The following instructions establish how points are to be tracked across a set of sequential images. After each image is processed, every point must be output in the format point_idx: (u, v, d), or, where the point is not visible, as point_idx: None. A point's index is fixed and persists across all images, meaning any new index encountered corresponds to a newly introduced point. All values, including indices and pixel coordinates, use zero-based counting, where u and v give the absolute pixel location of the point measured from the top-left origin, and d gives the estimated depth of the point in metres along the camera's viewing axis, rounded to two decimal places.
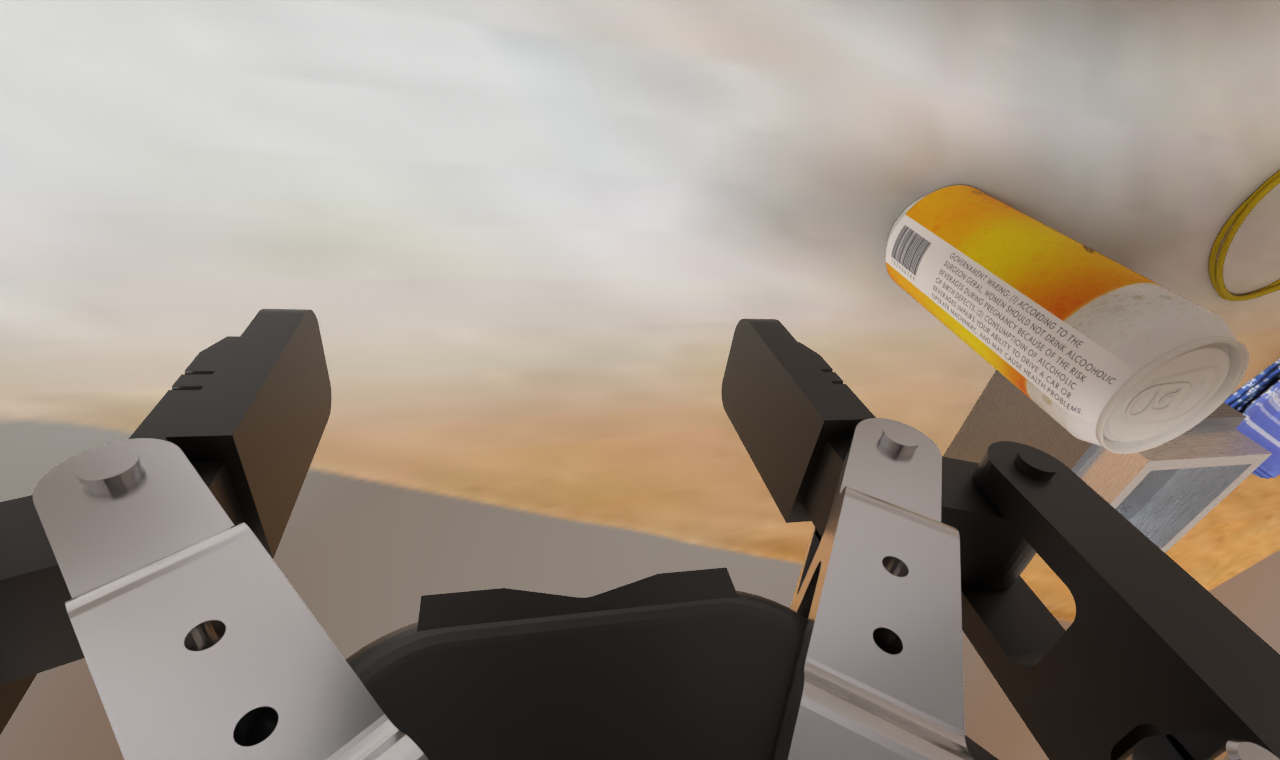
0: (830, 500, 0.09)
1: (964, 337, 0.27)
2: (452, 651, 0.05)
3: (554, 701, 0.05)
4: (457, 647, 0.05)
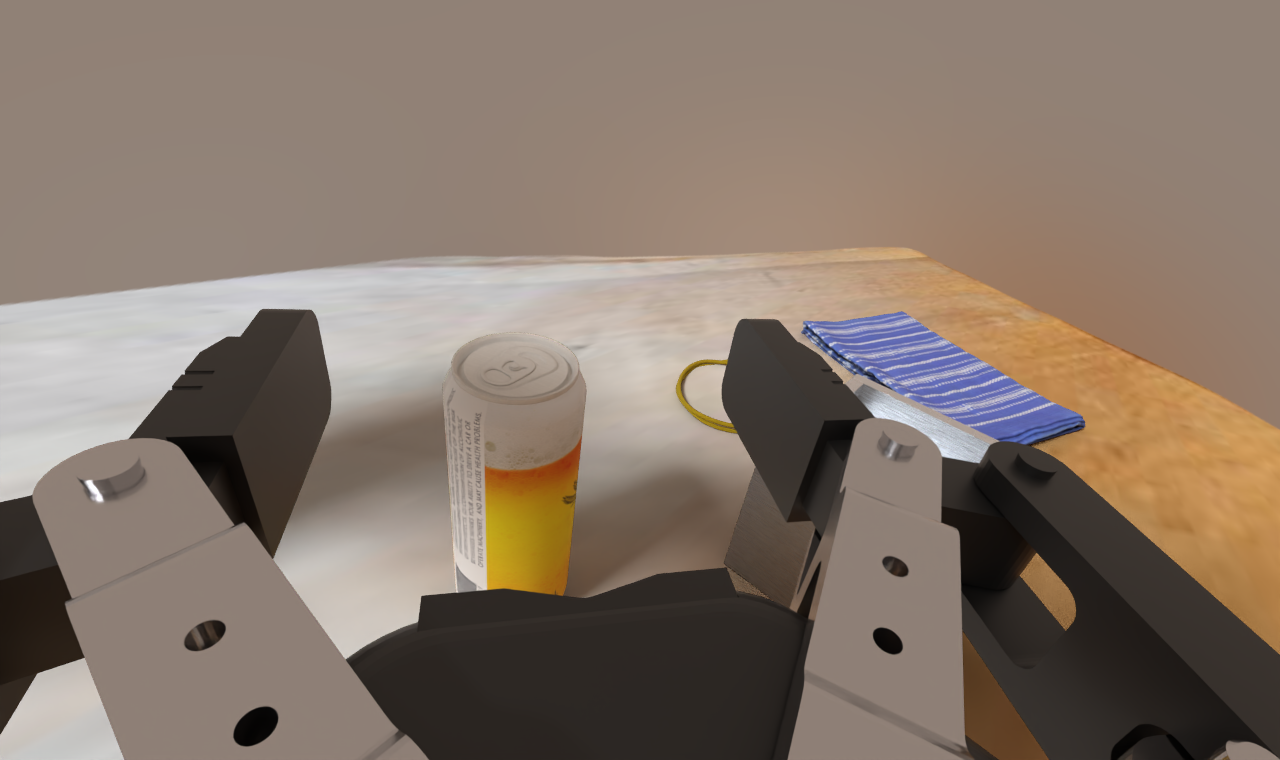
0: (829, 500, 0.09)
1: (502, 537, 0.26)
2: (452, 651, 0.05)
3: (554, 701, 0.05)
4: (457, 647, 0.05)
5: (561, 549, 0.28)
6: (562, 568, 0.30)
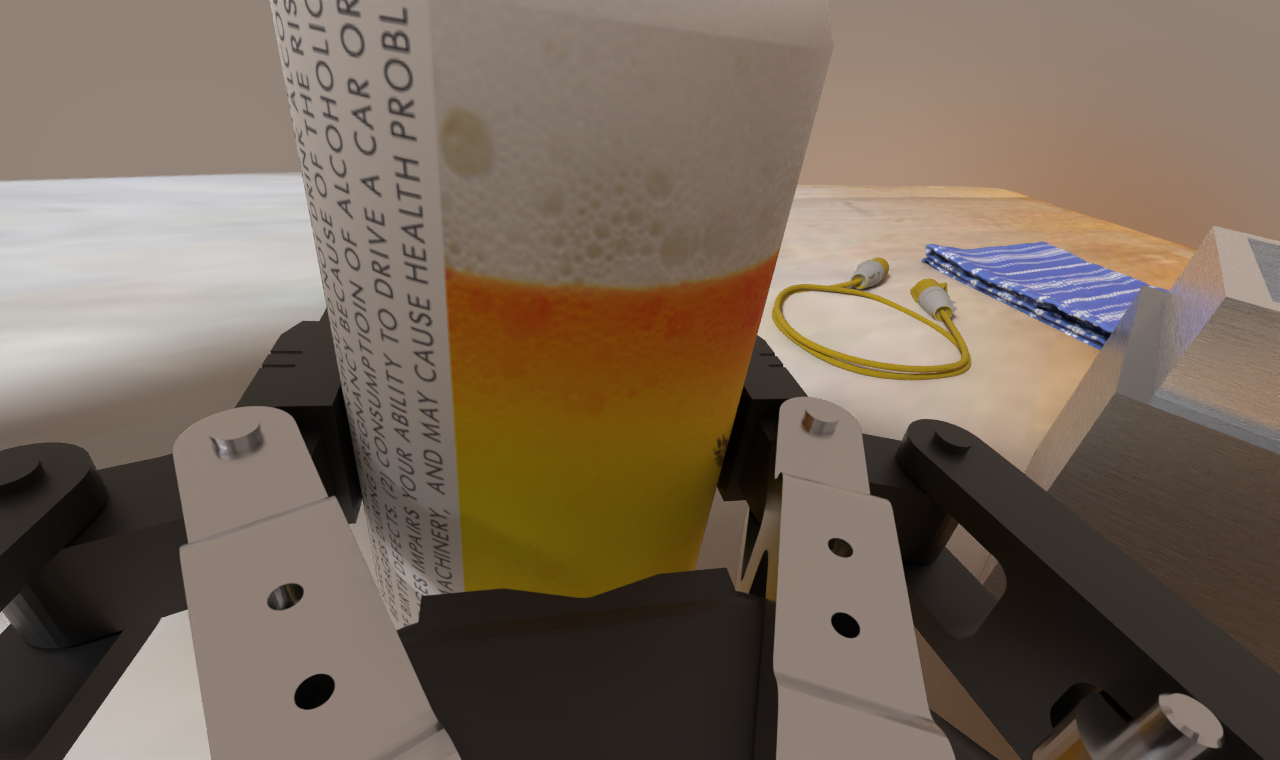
0: (758, 478, 0.09)
1: (521, 574, 0.07)
2: (452, 651, 0.05)
3: (554, 701, 0.05)
4: (457, 647, 0.05)
5: None
6: None
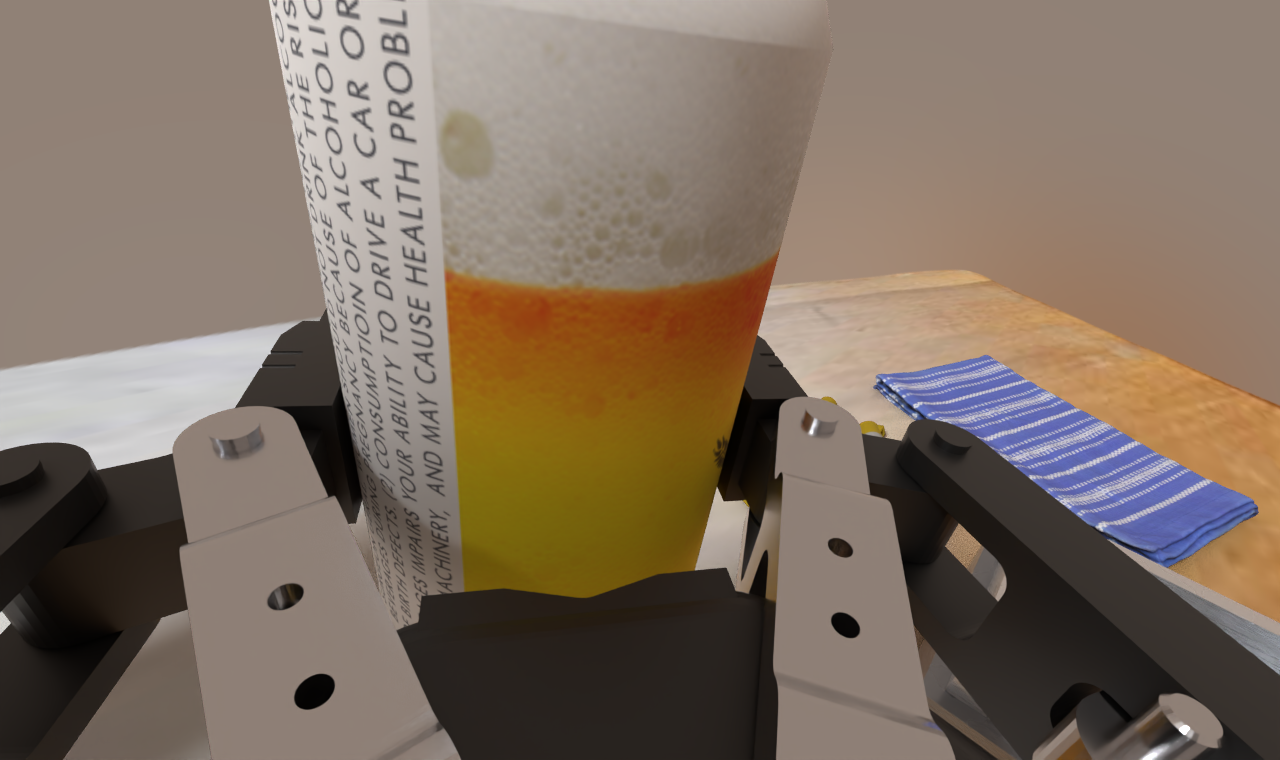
0: (758, 477, 0.09)
1: (521, 575, 0.07)
2: (452, 651, 0.05)
3: (554, 701, 0.05)
4: (457, 647, 0.05)
5: None
6: None
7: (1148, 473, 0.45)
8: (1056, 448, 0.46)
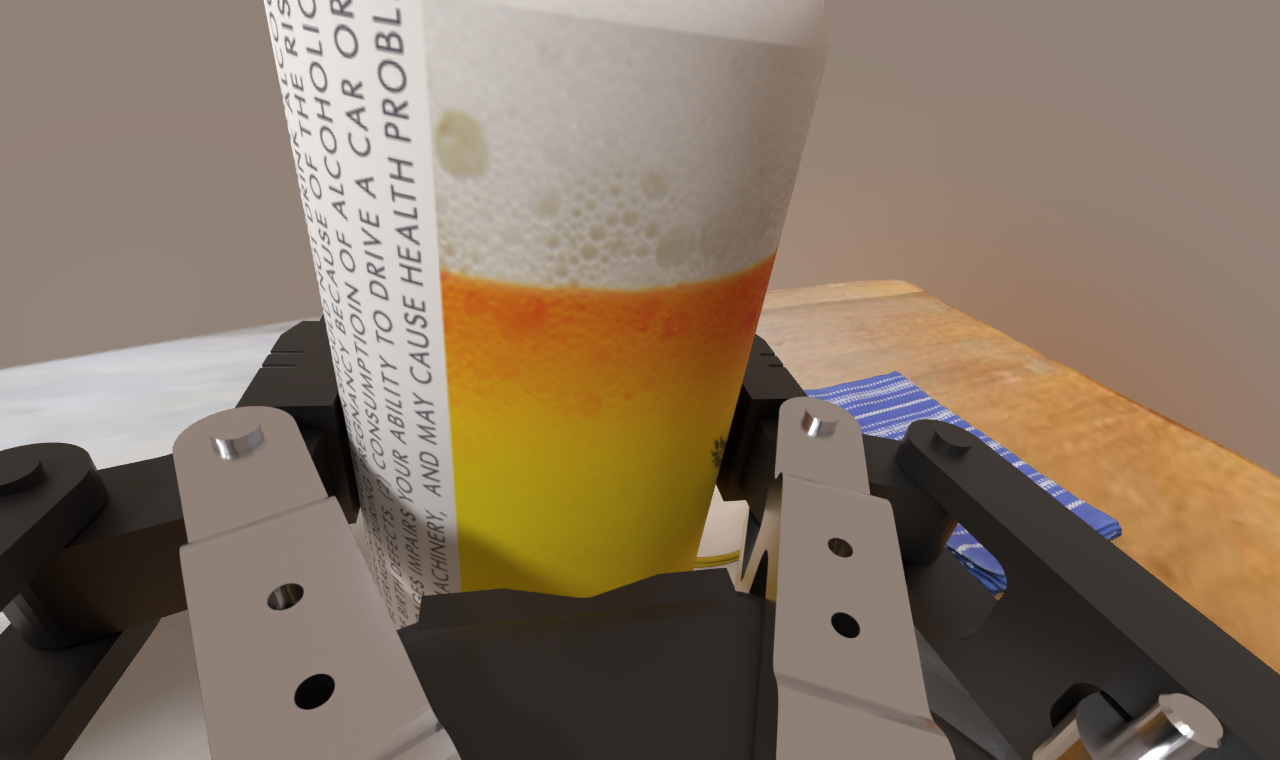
0: (759, 478, 0.09)
1: (517, 576, 0.07)
2: (452, 651, 0.05)
3: (554, 701, 0.05)
4: (457, 647, 0.05)
5: None
6: None
7: None
8: None
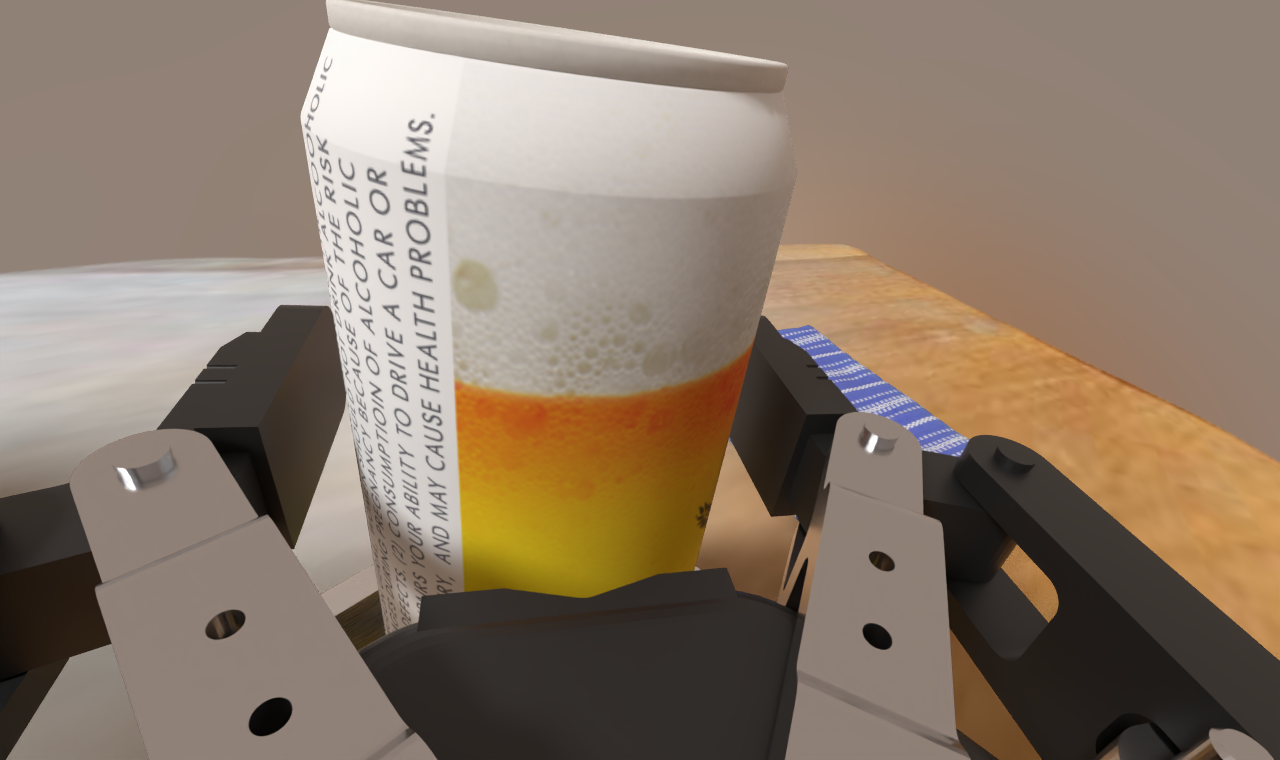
0: (812, 494, 0.09)
1: None
2: (452, 651, 0.05)
3: (554, 701, 0.05)
4: (457, 647, 0.05)
5: None
6: None
7: (928, 450, 0.39)
8: None
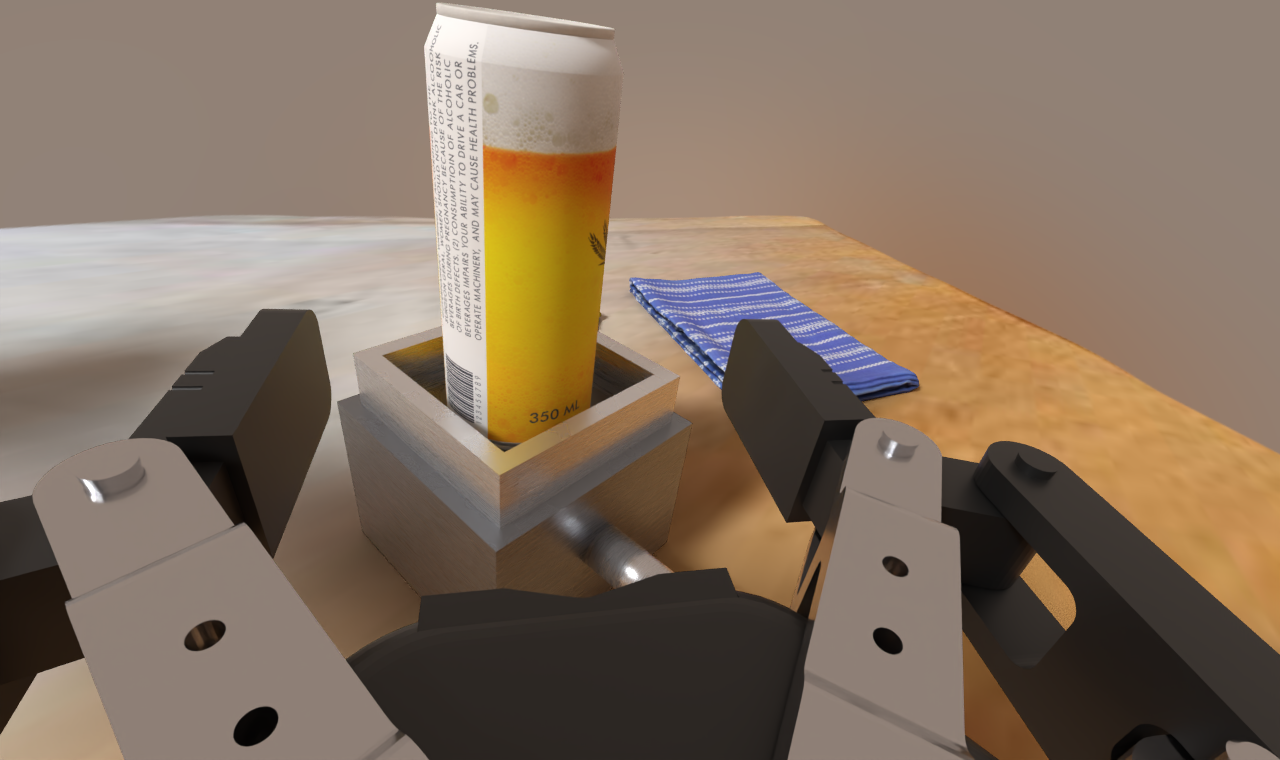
0: (829, 500, 0.09)
1: (508, 281, 0.19)
2: (452, 651, 0.05)
3: (554, 701, 0.05)
4: (457, 647, 0.05)
5: (585, 331, 0.21)
6: (586, 368, 0.23)
7: (837, 355, 0.50)
8: None
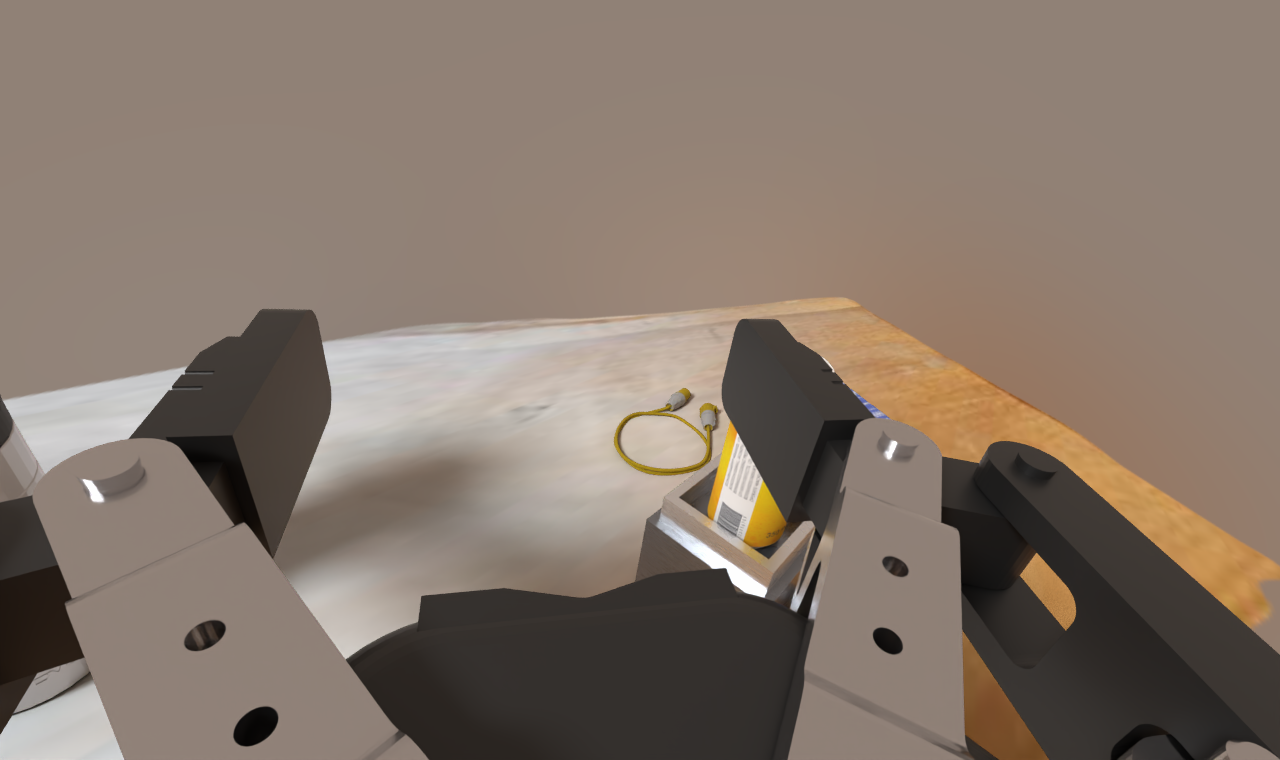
0: (829, 500, 0.09)
1: None
2: (452, 651, 0.05)
3: (554, 701, 0.05)
4: (457, 647, 0.05)
5: None
6: None
7: None
8: None
